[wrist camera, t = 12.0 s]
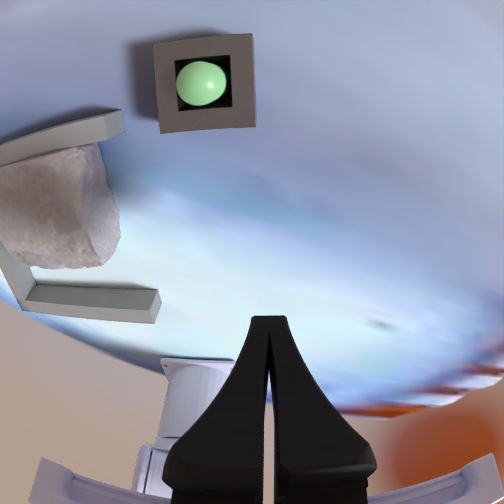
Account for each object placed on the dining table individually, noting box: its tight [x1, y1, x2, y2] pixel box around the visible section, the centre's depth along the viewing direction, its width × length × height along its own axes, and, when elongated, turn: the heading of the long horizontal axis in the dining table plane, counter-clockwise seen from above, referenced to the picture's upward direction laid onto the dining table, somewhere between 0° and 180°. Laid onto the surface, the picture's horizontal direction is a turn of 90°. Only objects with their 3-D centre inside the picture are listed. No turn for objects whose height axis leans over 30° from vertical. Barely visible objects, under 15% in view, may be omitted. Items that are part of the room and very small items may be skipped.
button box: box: [153, 33, 256, 134], centre depth 15 cm, size 5×5×3 cm
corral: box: [0, 110, 162, 324], centre depth 20 cm, size 16×16×2 cm
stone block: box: [0, 142, 121, 269], centre depth 19 cm, size 12×5×10 cm
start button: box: [176, 61, 231, 106], centre depth 14 cm, size 2×2×4 cm
